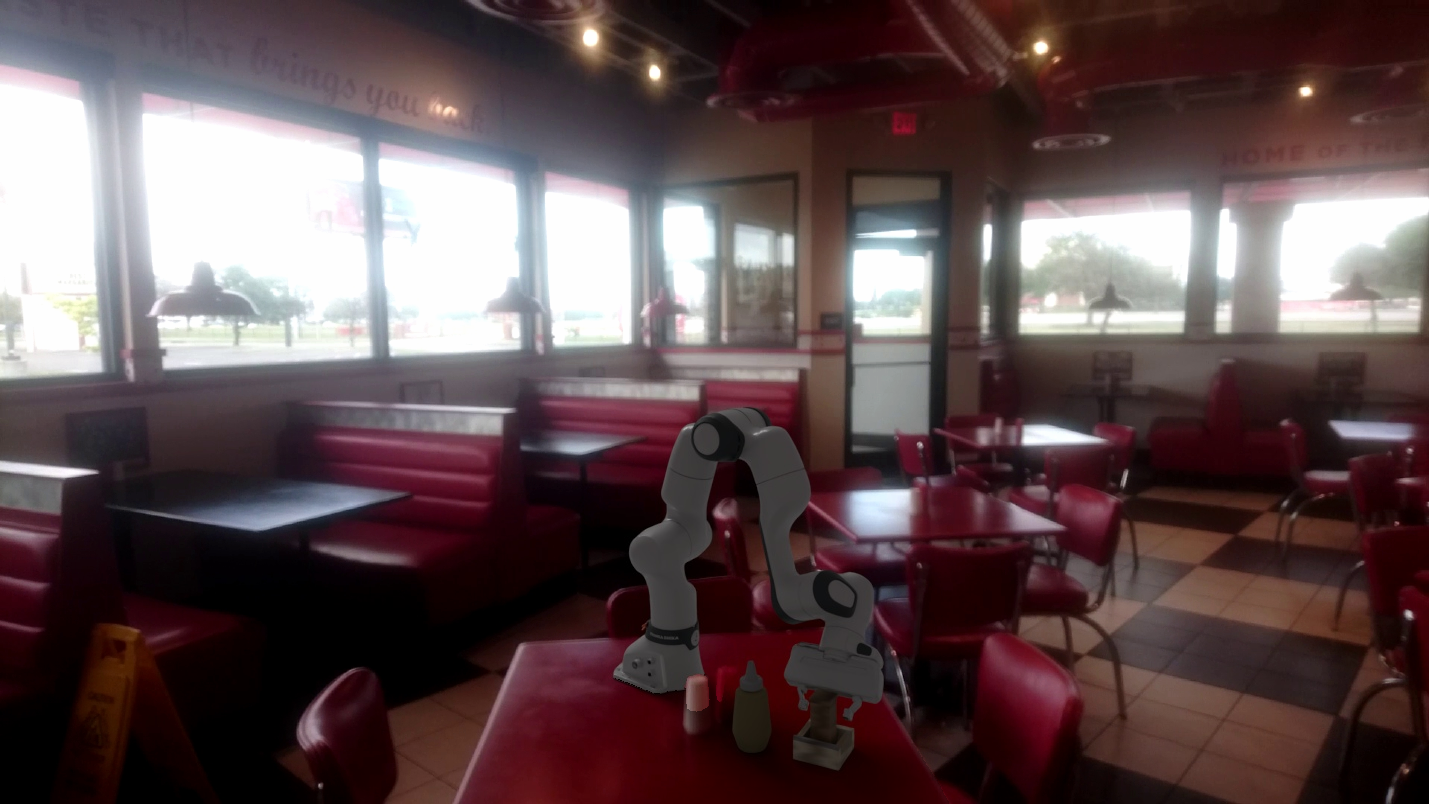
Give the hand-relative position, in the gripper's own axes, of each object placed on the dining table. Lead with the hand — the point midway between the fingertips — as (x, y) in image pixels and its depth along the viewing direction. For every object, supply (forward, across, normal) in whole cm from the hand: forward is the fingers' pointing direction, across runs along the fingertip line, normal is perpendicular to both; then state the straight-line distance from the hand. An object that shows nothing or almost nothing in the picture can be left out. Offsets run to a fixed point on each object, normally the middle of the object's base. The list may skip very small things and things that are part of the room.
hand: (824, 714), depth 163 cm
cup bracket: (+6, 0, +5) cm, 8 cm away
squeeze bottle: (+9, -14, +2) cm, 17 cm away
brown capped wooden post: (+6, 0, +5) cm, 8 cm away
